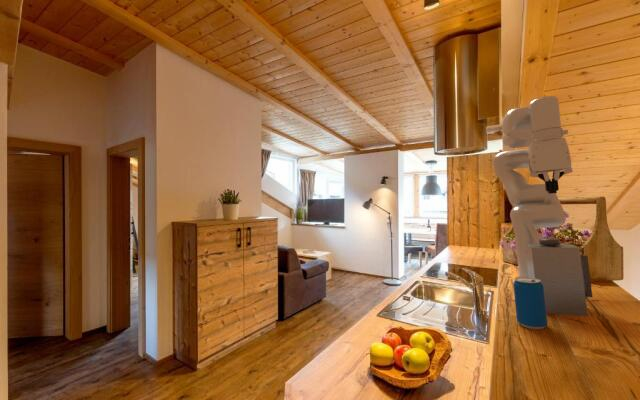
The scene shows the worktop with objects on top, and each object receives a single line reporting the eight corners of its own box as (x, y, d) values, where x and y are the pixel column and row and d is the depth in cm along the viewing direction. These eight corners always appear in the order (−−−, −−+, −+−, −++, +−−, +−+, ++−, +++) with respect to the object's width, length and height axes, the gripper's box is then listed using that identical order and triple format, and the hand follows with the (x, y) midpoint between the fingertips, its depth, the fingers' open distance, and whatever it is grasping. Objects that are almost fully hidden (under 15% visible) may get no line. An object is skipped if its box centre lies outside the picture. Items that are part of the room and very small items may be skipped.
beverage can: (553, 330, 70) (548, 282, 71) (524, 330, 72) (519, 282, 72) (539, 320, 77) (534, 276, 77) (512, 320, 78) (508, 277, 79)
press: (530, 301, 92) (524, 243, 94) (585, 304, 86) (578, 242, 87) (538, 312, 83) (531, 247, 84) (601, 317, 76) (592, 247, 78)
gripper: (573, 134, 90) (579, 191, 89) (516, 142, 97) (522, 195, 96) (581, 129, 83) (587, 190, 82) (519, 138, 90) (525, 195, 90)
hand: (552, 193), depth 89 cm, fingers closed
